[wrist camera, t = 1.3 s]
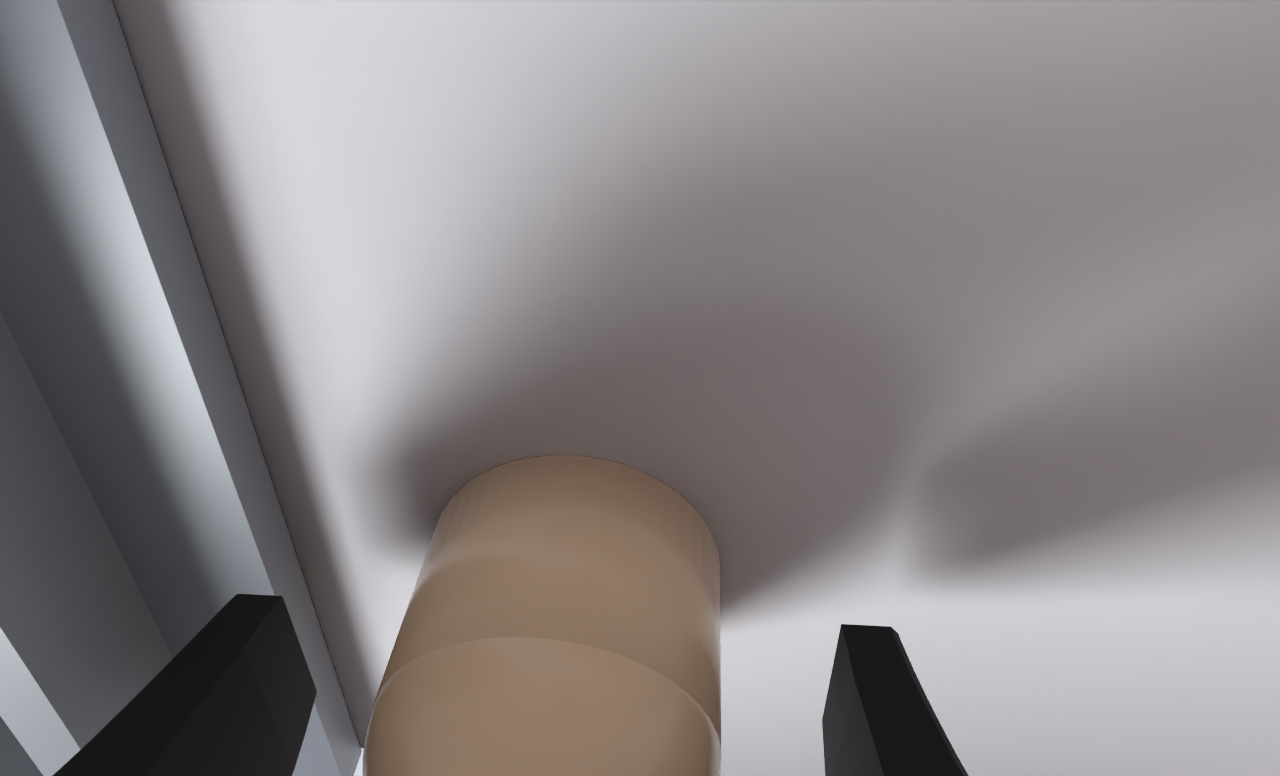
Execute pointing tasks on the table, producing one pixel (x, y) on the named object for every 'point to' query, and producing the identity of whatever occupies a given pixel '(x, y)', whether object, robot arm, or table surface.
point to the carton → (116, 412)
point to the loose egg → (557, 632)
